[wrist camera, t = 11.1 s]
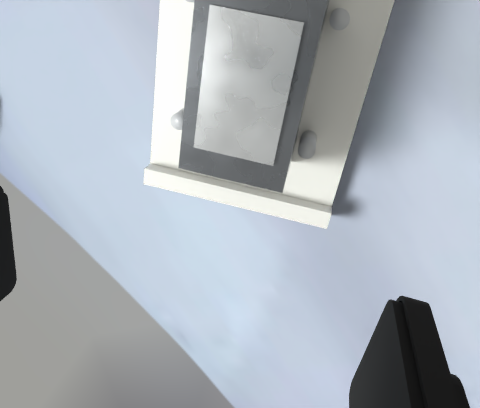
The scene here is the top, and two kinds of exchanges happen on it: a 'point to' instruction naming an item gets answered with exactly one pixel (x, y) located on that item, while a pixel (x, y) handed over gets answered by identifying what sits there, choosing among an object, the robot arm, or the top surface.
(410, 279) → the top surface
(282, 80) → the block
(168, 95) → the tray
